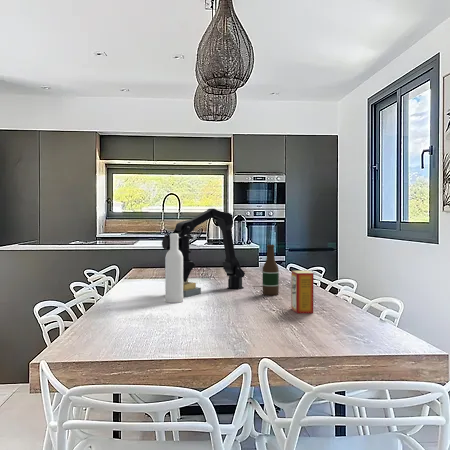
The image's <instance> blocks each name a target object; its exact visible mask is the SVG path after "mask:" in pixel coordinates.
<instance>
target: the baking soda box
mask: <svg viewBox="0 0 450 450" xmlns="http://www.w3.org/2000/svg"><path fill="white" fill-rule="evenodd" d="M290 289H291V292H290V293H291V294H290V295H291V302H290V303H291V306H290V307H291V310H292V311H293V312H294V313H295V314H314V272H312V271H310V270H308V269H307V270H291V288H290Z"/></svg>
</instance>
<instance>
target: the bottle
mask: <svg viewBox="0 0 450 450" xmlns="http://www.w3.org/2000/svg"><path fill="white" fill-rule="evenodd" d="M169 235H170V249H168V251H166V254H165V257H164V258H165V260H164V261H165V263H164V265H165V268H164V269H165V273H164V274H165V279H164V280H165V289H164V290H165V294H164V299H165V302H166V303H169V304H177V303H182V302H184V297H183V255H182V253H181V251H180V250H179V249H178V238H180V237H179V236H178V234H177V233H173V232H172V233H170V234H169Z"/></svg>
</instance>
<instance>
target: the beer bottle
mask: <svg viewBox="0 0 450 450" xmlns="http://www.w3.org/2000/svg"><path fill="white" fill-rule="evenodd" d="M266 249H267V250H266V260H265V263H264V264H263V266H262V295H264V296H274V297H275V296H278V295H279V290H280V289H279V288H280V285H279V284H280V281H279V277H280V276H279V275H280V271H279V266H278V263H277V262H276V259H275V257H276V256H275V244H266Z"/></svg>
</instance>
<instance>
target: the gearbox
mask: <svg viewBox="0 0 450 450" xmlns="http://www.w3.org/2000/svg"><path fill="white" fill-rule="evenodd" d="M201 294H202V287H197V282H192V281H188V284H183V298H189V297H193V296H194V297H195V296H197V295H201Z"/></svg>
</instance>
